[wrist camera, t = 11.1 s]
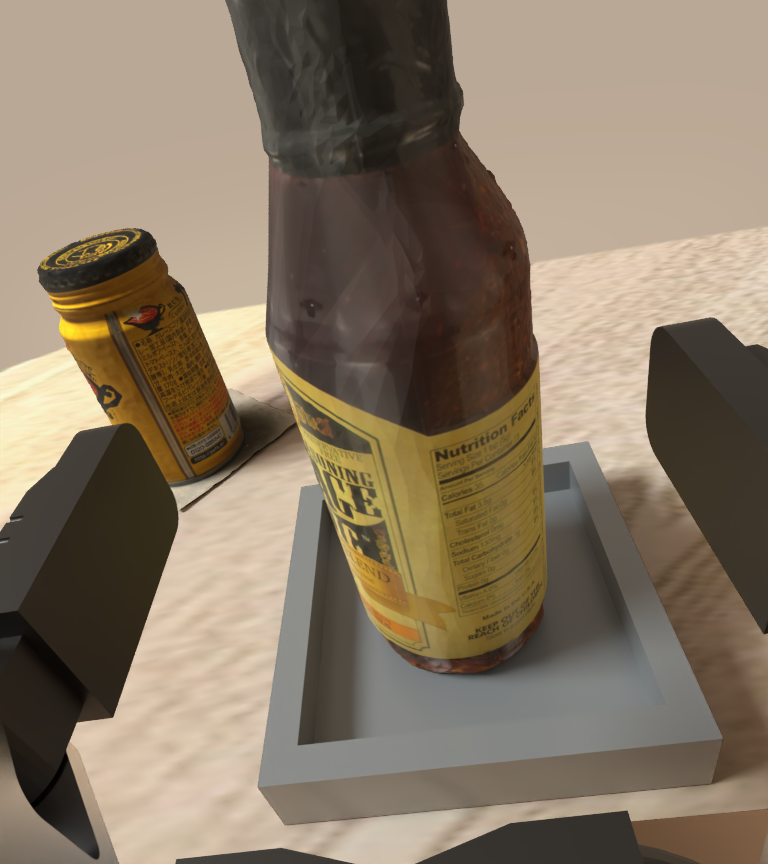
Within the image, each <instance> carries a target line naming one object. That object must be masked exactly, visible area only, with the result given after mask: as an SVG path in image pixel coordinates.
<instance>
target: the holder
mask: <svg viewBox="0 0 768 864" xmlns="http://www.w3.org/2000/svg"><path fill="white" fill-rule="evenodd" d="M631 824H632V827H633V830H634V833H635V836H636V840H637V843H638V844H639V845H644V846H649V847H654V848H658V849H662V850H665V851H668V852H671V853H674V854H677V855H680V856H683V857H686V858H689V859H692V860H694V861H696V862H698V863H701V864H759V861H760V857H761V853H762V850H763V846H764V842H765V839H766V836H767V832H768V809H763V810H752V811H741V812H730V813H719V814H709V815H698V816H687V817H676V818H665V819H654V820H643V821H632V822H631Z"/></svg>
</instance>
